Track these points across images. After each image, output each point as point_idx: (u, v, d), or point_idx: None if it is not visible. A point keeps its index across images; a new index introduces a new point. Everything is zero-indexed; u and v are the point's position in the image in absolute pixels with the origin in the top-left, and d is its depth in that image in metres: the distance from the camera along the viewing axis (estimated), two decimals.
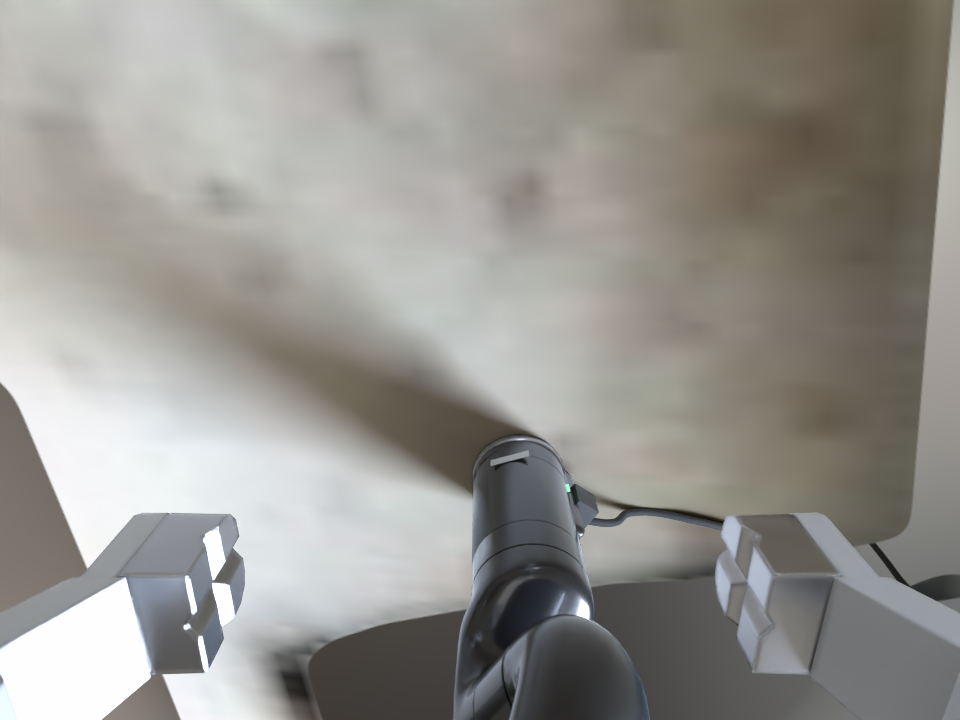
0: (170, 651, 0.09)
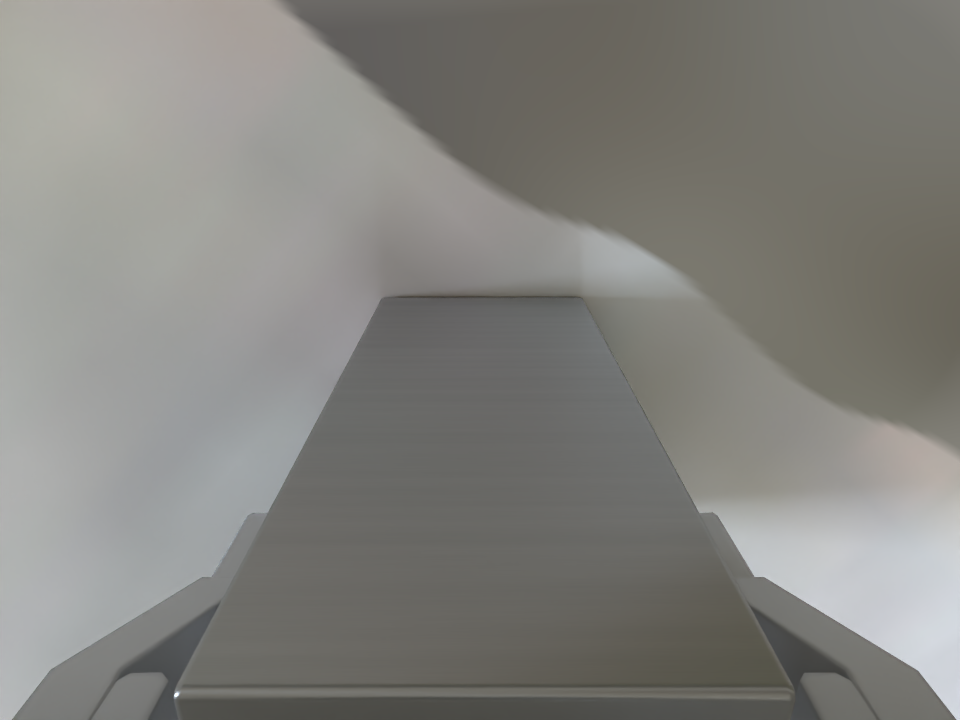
0: None
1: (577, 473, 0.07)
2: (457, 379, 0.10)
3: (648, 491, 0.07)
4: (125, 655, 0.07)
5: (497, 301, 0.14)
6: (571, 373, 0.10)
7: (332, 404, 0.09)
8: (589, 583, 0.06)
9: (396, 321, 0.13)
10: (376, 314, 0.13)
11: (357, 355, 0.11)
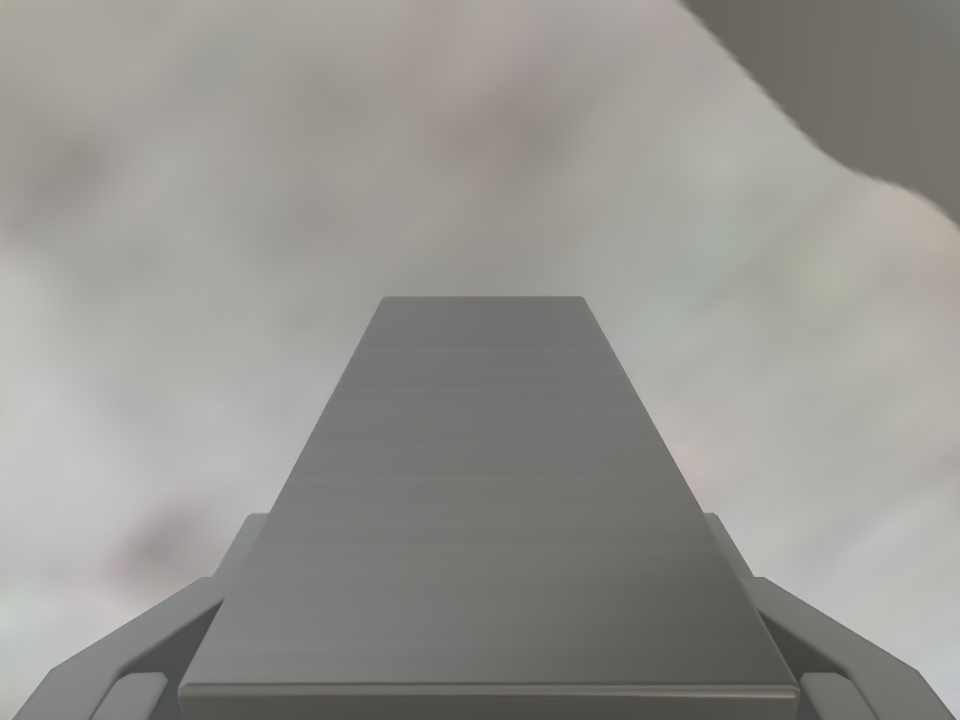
0: None
1: (579, 472, 0.07)
2: (458, 378, 0.10)
3: (651, 489, 0.07)
4: (125, 655, 0.07)
5: (498, 300, 0.14)
6: (572, 371, 0.10)
7: (334, 402, 0.09)
8: (591, 581, 0.06)
9: (397, 320, 0.13)
10: (377, 313, 0.13)
11: (359, 354, 0.11)
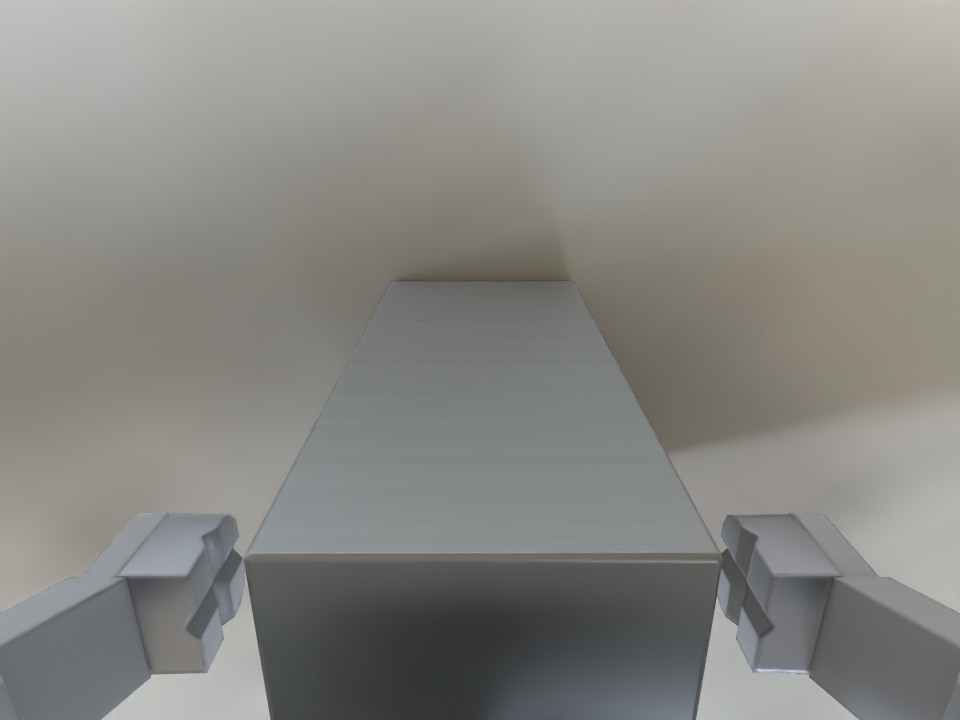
0: (170, 651, 0.09)
1: (561, 415, 0.09)
2: (459, 346, 0.11)
3: (620, 428, 0.08)
4: None
5: (495, 284, 0.15)
6: (559, 341, 0.12)
7: (352, 365, 0.10)
8: (566, 489, 0.07)
9: (405, 300, 0.14)
10: (386, 294, 0.15)
11: (371, 328, 0.12)
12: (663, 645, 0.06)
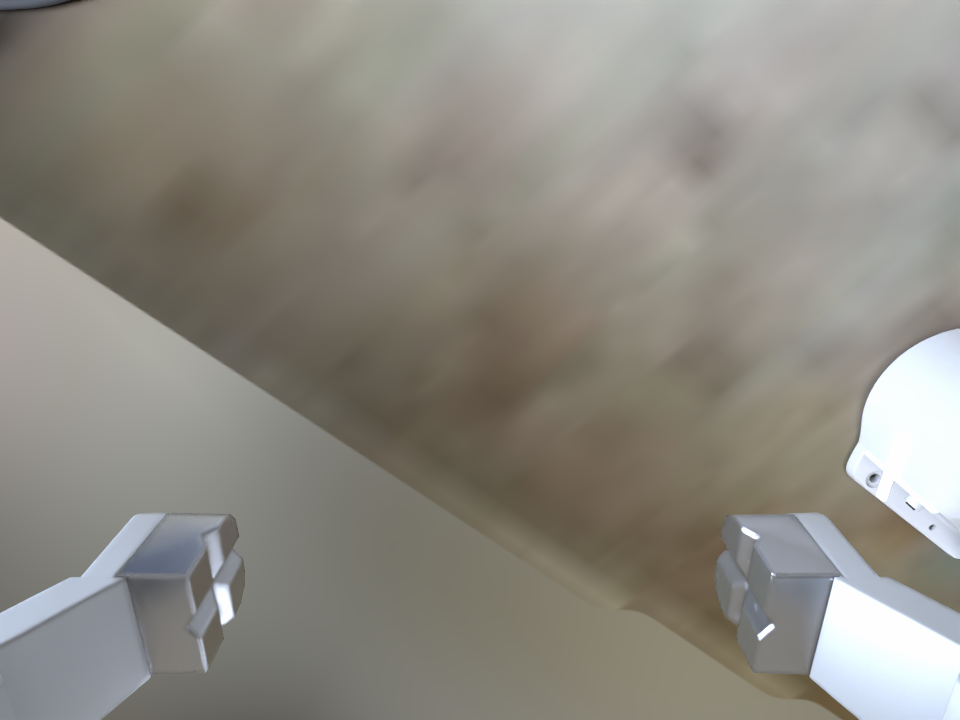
0: (170, 651, 0.09)
1: None
2: None
3: None
4: None
5: None
6: None
7: None
8: None
9: None
10: None
11: None
12: None
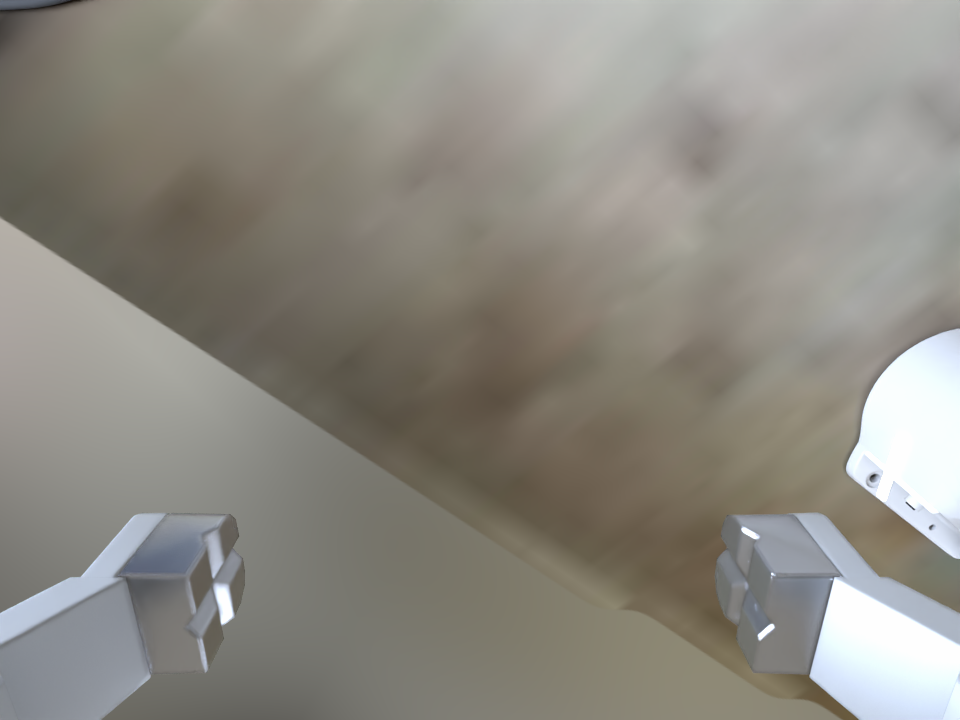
0: (170, 651, 0.09)
1: None
2: None
3: None
4: None
5: None
6: None
7: None
8: None
9: None
10: None
11: None
12: None
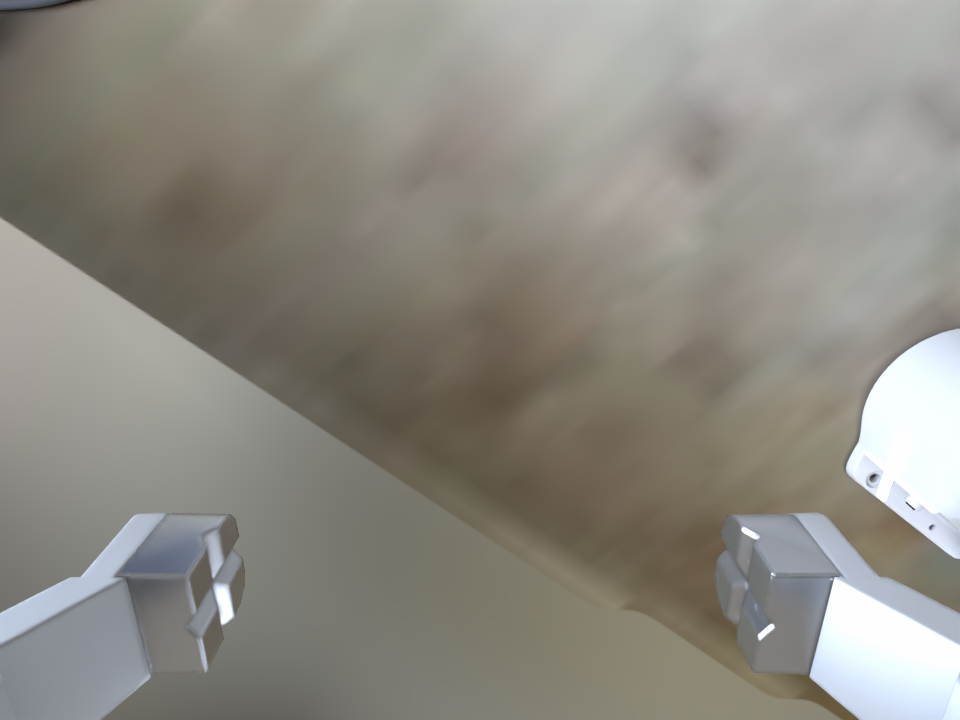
0: (170, 651, 0.09)
1: None
2: None
3: None
4: None
5: None
6: None
7: None
8: None
9: None
10: None
11: None
12: None
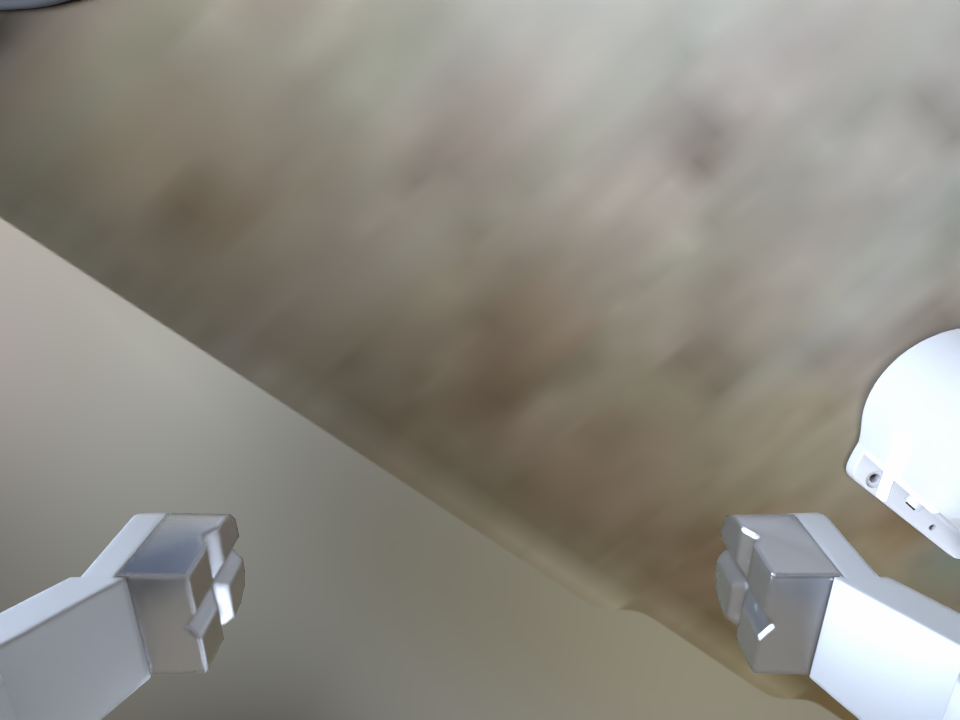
0: (170, 651, 0.09)
1: None
2: None
3: None
4: None
5: None
6: None
7: None
8: None
9: None
10: None
11: None
12: None
